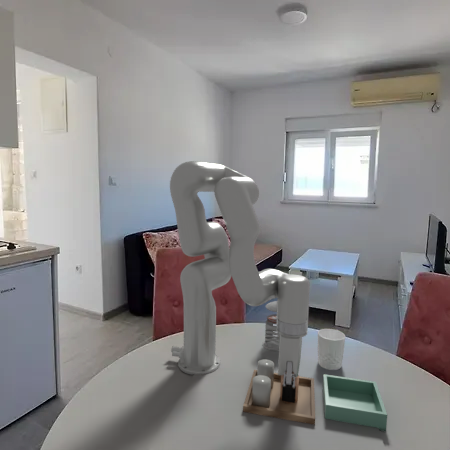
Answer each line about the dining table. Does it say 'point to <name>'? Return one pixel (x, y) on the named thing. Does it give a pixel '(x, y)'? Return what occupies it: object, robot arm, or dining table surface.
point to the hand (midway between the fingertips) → (289, 394)
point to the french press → (271, 329)
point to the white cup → (330, 348)
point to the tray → (280, 409)
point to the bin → (353, 401)
